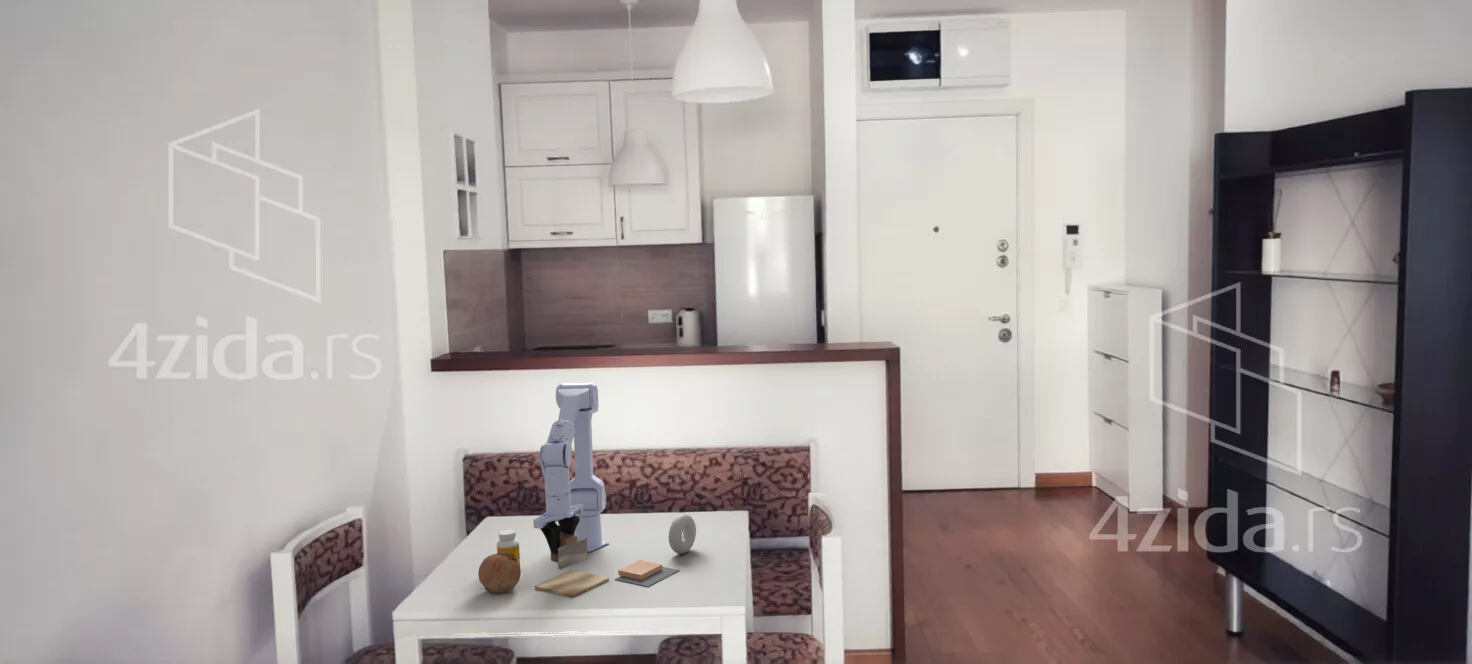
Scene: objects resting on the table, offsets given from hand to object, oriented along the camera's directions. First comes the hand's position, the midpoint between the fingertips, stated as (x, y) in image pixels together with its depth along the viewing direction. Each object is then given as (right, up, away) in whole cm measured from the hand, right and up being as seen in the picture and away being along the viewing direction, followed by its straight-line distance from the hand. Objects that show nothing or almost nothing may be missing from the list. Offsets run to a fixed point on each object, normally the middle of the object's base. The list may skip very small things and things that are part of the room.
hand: (561, 550), depth 215 cm
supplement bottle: (-15, -8, +11) cm, 20 cm away
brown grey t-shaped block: (+1, -2, 0) cm, 2 cm away
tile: (+15, -6, +6) cm, 17 cm away
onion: (-13, -9, -3) cm, 16 cm away
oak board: (+3, -8, -1) cm, 8 cm away
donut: (+28, -5, +18) cm, 34 cm away
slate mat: (+20, -7, +3) cm, 21 cm away
